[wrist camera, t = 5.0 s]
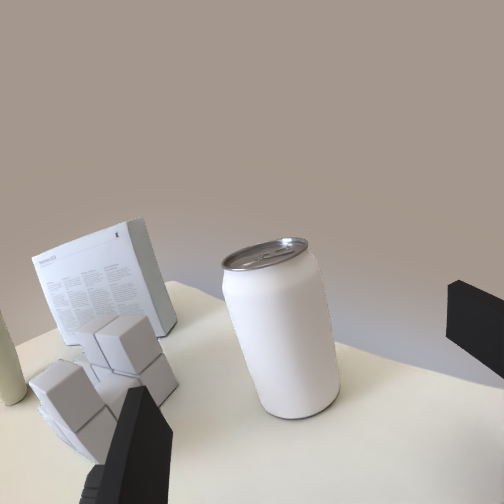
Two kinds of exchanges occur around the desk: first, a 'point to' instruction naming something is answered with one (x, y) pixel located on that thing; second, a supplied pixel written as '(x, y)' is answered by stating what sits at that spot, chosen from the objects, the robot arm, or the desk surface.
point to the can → (283, 325)
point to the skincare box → (105, 279)
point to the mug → (9, 369)
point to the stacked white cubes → (102, 381)
